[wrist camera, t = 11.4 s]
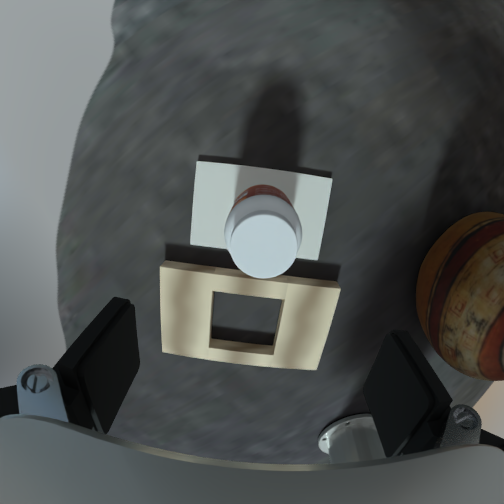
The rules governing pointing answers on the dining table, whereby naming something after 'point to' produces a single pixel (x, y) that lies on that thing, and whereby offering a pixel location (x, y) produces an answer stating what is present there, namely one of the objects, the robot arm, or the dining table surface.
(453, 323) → the ceramic pitcher
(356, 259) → the dining table surface
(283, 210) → the pill bottle
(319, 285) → the wooden rectangular frame
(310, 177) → the mat
